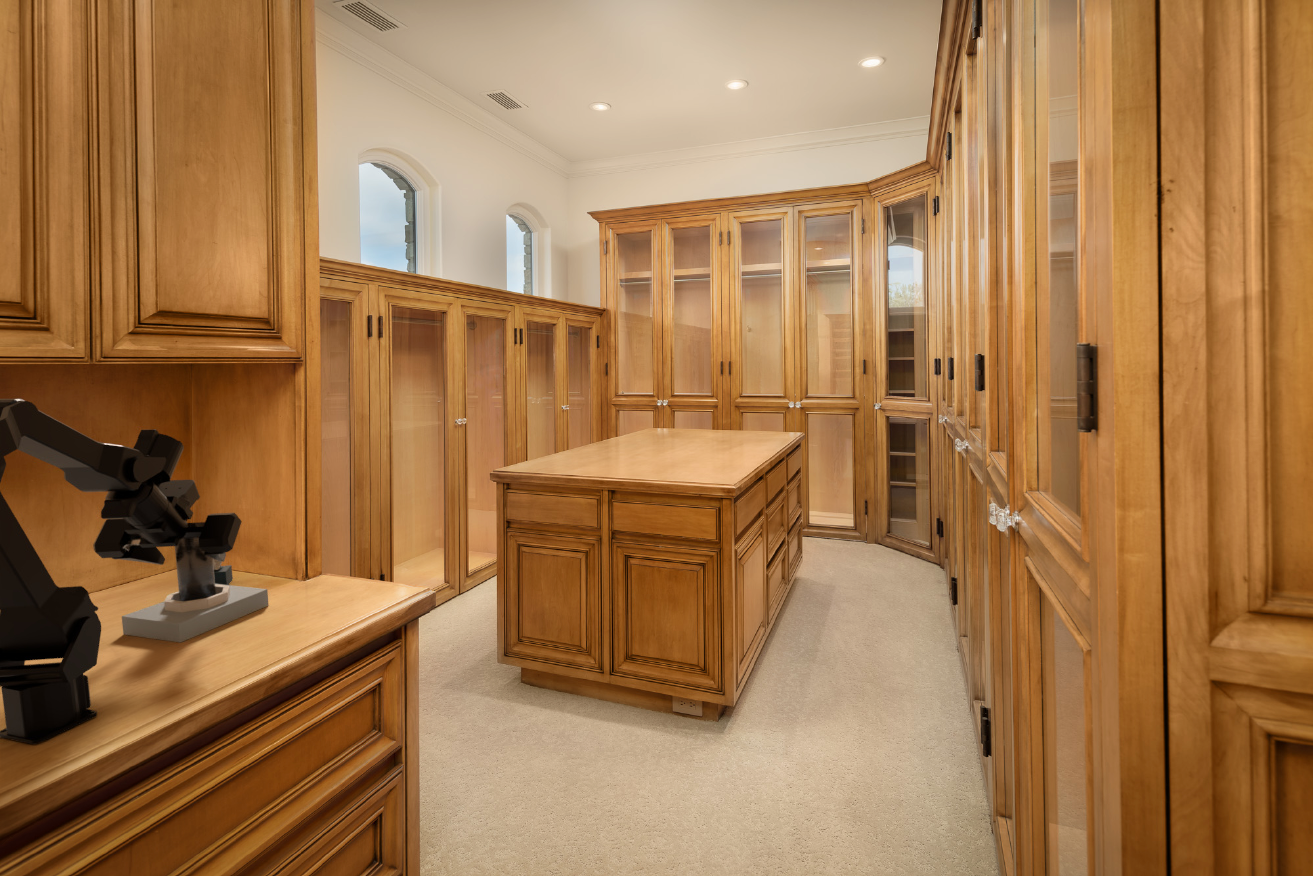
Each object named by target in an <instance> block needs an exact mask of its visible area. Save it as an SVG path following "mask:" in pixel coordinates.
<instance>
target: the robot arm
mask: <svg viewBox="0 0 1313 876" xmlns="http://www.w3.org/2000/svg"><path fill="white" fill-rule="evenodd" d="M184 447H185V446H184V445H183V443H182V441H180V440H177V439H176V438H175V437H172V436H170V435H167V434H163V433H160V432H159V431H158V429H154V428H152V429H141V430H140V432H139V434H138V437H137V440H136V442H135V444H134V446H133V447H129V446H125V445H121V444H114V443H104V442H101V441H97V440H95V439H93V438H91V437H89V436H87V435H86V434H83V433H81V432H80V431H78V430H76V429H75V428H73V427H71V426H69V425H67V424H66V423H63V422H62V421H60V420H57V419H56V418H54V417H52V416H50V415H48V414H46V413H45V412H43V411H41V410H39V409H38V408H37V406H36V404H34V403H33V402H32V401H28V400H24V399H22V398H0V483H1V481H2V480H3V479H2V478H3V476H4V473H5V470H6V468H7V462H6V459H5V457H6V456H7V455H9V454H11V453H13V452H14V451H16V450H18V451H20V452H22V453H24V454H26V455H29V456H31V457H33V458H36V459H38V460H41V461H42V462H45V463H47V464H49V465H51V466H53V467H56V468H58V469H60V470H61V471H63V479H64V480H65V482H68V483H69V484H70V485H72V486H73V487H74V488H75V489H77V490H78V491H81V492H83V493H99V492H101V493H105V492H107V493H106V495H105V498H104V499H105V500H104V501H103V506H102V508H101V511H100V518H101V519H102V520H105V521H104V522H103V524H102V526H101V528H100V529H99V532H98V534H97V536H96V538H95V540H94V542H93V545H92V546H93V547H92V548H93V551H94V552H95V553H96V554H97V555H98V556H99V558H101V559H113V560H123V561H131V562H137V563H138V562H139V563H147V564H153V565H158V566H159V565H164V563H165V561H166V558H165V556H164V555H163V553H162V552H161V551H160V550H159V548H162V547H164V548H165V547H175V546H177V545H178V542H179V540H181V539H182V538H199V548H200V549H201V550H202V551H205V552H204V555H206V556H209V557H211V558H213V559H215V560H218V561H221V562H222V563H223V562H225V560H226V557H227V554H226V553H228V552H230V551H232V550H233V548H234V545H235V542H236V539H237V537H238V534H239V530H240V528H241V525H242V520H241V518H240V517H239V516H238V514H236V512H221V513H220V512H219V513H218V512H217V513H209V514H208V515H207V516H206V517H205V518H206V519H205V521H201V522H188V520H191V519H192V518H193V515H194V512H193V510H192V509H191V508H192V507H193V506H194V505H195V503H196V502H197V501H198V500H200V498H201V496H200V494H199V491H198V488H197V486H196V482H195V480H194V479H172V478H173V474H174V473H175V470H176V468H177V466H178V463H179V460H180V458H181V456H182V454H183V451H184ZM171 479H172V480H171ZM97 611H99V607H98V606H96V605H95V604H94V603H93V601H92V600H91V597H90V594H89V591H88V590H87V589H86V588H84V587H83V585H77V586H76V585H75V586H62V587H60V586H58V585H57V584H56V583H55V582H54V579H53V578H52V576H51V573H49V571H48V569H47V568H46V566H45V564H44V563H43V561H42V559H41V557H40V556H39V554H38V553H37V551H36V549H35V547H34V546H33V544H32V542H31V541H30V539H29V537H28V536H27V534H26V533H25V530H24V529H23V527H22V526H21V524H20V522H19V520H18V519H17V517H16V515H15V514H14V512H13V510H12V509H11V507H10V505H9V504H8V502H7V500H6V499H5V497H4V495H3V494H2V492H1V491H0V688H1V695H2V704H3V710H4V712H3V713H4V719H5V728H3V729H1V730H0V738H2V739H8V740H10V741H11V740H12V741H17V742H21V743H25V744H30V745H36V744H39V743H40V744H41V742H44V741H47V740H48V739H50V738H52V737H55V736H57V735H59V734H61V733H62V732H65V731H67V730H70V729H72V728H74V727H76V726H77V725H81V724H82V723H85V722H86V721H89V720H91V719H93V718H96V717H97V716H98V711H97V710H93V709H91V707H92V703H91V695H90V694H91V693H90V683H89V677H88V675H85V673H87V672H88V671H89V670H91V669H92V668H94V667H95V666H96V665H97V663H98V656H99V650H100V642H101V635H102V624H101V621H100V619H99V616H98V614H97V613H96V612H97ZM53 659H57V660H58V659H62V660H61V661H60V662H59V661H58V662H46V663H45V662H44V663H31V664H25V663H26V662H27V661H40V660H53Z"/></svg>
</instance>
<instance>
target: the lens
mask: <svg viewBox="0 0 1313 876" xmlns="http://www.w3.org/2000/svg"><path fill="white" fill-rule="evenodd" d="M204 552H205V551H202V550H201V549H200V548H199V538H182V539H181V540H179V542H178V545H177V546H174V553H175V554H174V556H175V564H176V575H177V577H176V578H177V585H178V588H177V589H178V591H179V599H180V601H191V600H197V599H204V598H208V597H211V596H213V595H216V587H215V576H214V564H213V558H211V557H209V556H206V555H204Z"/></svg>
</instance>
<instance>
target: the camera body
mask: <svg viewBox="0 0 1313 876" xmlns="http://www.w3.org/2000/svg"><path fill="white" fill-rule="evenodd" d="M215 587H216V595H213V596H211V597H208V598H204V599H197V600H191V601H180V599H179V590H178V591H176V592H172V593H169V594H167V596H166V597H165V599H164V601H162V602H158V603H156V604H153V605H150V606H147V607H144V608H141V609H139V610H136V611H132V612H130V613H127V614H125V615H122V616H121V625H122V634H123V635H125V636H133V637H139V638H147V639H152V640H160V641H161V640H162V641H167V642H175V643H182V642H185V641H187V640H189V639H192V638H195V637H197V636H199V635H200V636H201V634H204V633H207V632H209V631H212V630H214V629H216V628H218V627H221V626H223V625H226V624H228V623H230V622H232V621H235V620H237V619H240V618H243V617H244V616H247V615H249V614H251V613H254V612H256V611H258V610H261V609H263V608H265V607H268V606H269V605H270V603H269V594H268V593H269V591H268V588H260V587H258V588H257V587H250V586H240V585H232V584H229V585H223V584H215Z"/></svg>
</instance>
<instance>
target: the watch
mask: <svg viewBox="0 0 1313 876" xmlns="http://www.w3.org/2000/svg"><path fill="white" fill-rule="evenodd" d="M222 563H223V562H221V561H218V560H215V559H213V564H214V576H215V584H223V585H230V584H231V583H232V582H233V581H232V579H233V580H234V578H233V567H232V566H233V565H232V564H229V565H228V564H227V565H222ZM231 581H232V582H231ZM230 582H231V583H230ZM229 583H230V584H229Z"/></svg>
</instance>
